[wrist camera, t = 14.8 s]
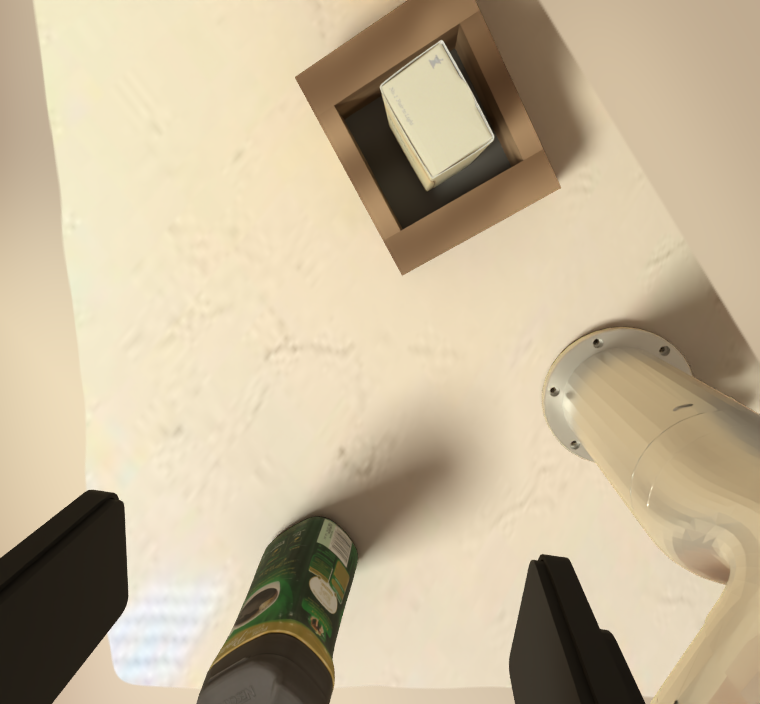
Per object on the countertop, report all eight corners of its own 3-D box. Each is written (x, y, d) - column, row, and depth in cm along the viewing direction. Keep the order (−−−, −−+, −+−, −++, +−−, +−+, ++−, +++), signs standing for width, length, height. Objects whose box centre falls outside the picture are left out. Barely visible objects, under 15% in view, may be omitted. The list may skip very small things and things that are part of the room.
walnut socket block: (544, 192, 39) (561, 187, 34) (404, 269, 42) (402, 275, 37) (454, -1, 36) (459, -35, 32) (310, 95, 39) (294, 77, 34)
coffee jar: (303, 600, 52) (238, 797, 34) (255, 547, 51) (162, 723, 33) (373, 556, 50) (344, 743, 32) (325, 500, 48) (266, 661, 30)
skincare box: (388, 126, 39) (372, 82, 27) (436, 93, 38) (441, 33, 26) (427, 195, 40) (429, 182, 28) (475, 164, 39) (497, 138, 27)
